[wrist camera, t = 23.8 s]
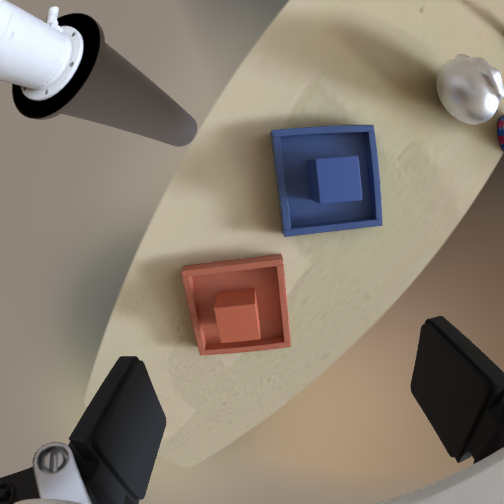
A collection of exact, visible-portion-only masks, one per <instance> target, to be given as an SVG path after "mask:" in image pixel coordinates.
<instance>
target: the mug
mask: <svg viewBox="0 0 504 504" xmlns="http://www.w3.org/2000/svg"><path fill="white" fill-rule="evenodd" d="M497 133H498V139H499V142H500V145H501V147H502V149H503V150H504V116H502V117H501V118H500V119H499V121H498V125H497Z"/></svg>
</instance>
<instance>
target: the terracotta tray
mask: <svg viewBox="0 0 504 504" xmlns="http://www.w3.org/2000/svg"><path fill="white" fill-rule="evenodd" d="M181 274H182V279H183V284H184V288H185V293H186V298H187V302H188V307H189V311H190V315H191V320H192V324H193V328H194V332H195V336H196V340H197V344H198V348H199V352H200V355H215V354H228V353H240V352H250V351H260V350H269V349H277V348H285V347H291V341H290V329H289V317H288V306H287V295H286V284H285V274H284V264H283V258H282V255H281V254H278V255H270V256H262V257H253V258H245V259H237V260H229V261H220V262H212V263H204V264H195V265H187V266H184V268H183V269H182V270H181ZM252 288H255V290H256V298H257V305H258V313H259V320H260V339H259V340H250V341H239V342H228V343H221V342H220V337H219V333H218V328H217V323H216V318H215V313H214V306H215V302H216V298H217V295H218V292H226V291H235V290H244V289H252Z"/></svg>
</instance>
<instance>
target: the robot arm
mask: <svg viewBox="0 0 504 504" xmlns="http://www.w3.org/2000/svg"><path fill="white" fill-rule="evenodd" d="M58 11H59V8H58V7H51V8H49V9H48V12H47V17H46V19H47V20H46V23H45V22H44V20H40V19H38V18H36V17H35V16H32V15H31V14H29V13H28V12H26V11H24V10H22V9H20V8H19V7H17V6H15V5H13V4H11V3H10V2H8V1H5V0H0V80H1V81H5V82H9V83H12V84H16V85H20V86H21V90H22V92H23V94H24V95H25V96H26V97H27V98H29V99H32V100H38V101H40V100H45V99H48V98H50V97H52V96H53V95H55V94H56V93H58V92H59V91H60V90H61V89H62V88H63V87H64V86H65V85H66V84H67V83H68V82H69V80H70V79H71V78H72V76H73V75H74V73H75V71H76V70H77V68H78V65H79V63H80V61H81V57H82V54H83V39H82V36H81V34H80V33H79V32H78V31H77V30H76V29H74V28H72V27H70V26H60V27H59V26H58V21H56V20H57V17H58ZM411 392H412V394H413V396H414V397H415V399H416V400H417V402H418V404H419V405H420V407H421V408H422V410H423V412H424V413H425V415H426V416H427V418H428V420H429V421H430V423H431V425H432V426H433V428H434V430H435V431H436V433H437V435H438V436H439V438H440V440H441V441H442V443H443V445H444V447H445V448H446V450H447V452H448V453H449V455H450V456H451V457H455V459H456V460H457V462H458V463H460V462H462V461H464V460H466V459H468V458H470V457H471V456H473V458H474V464H473V465H471V466H469V467H467V468H465V469H463V470H461V471H459V472H457V473H455V474H453V475H451V476H448V477H446V478H444V479H442V480H440V481H437V482H435V483H433V484H430V485H428V486H425V487H423V488H420V489H418V490H415V491H412V492H410V493H407V494H405V495H401V496H398V497H395V498H392V499H389V500H386V501H383V502H379V503H376V504H504V373H503V371H502V370H501V369H500V368H499V367H498V366H496V365H495V364H494V363H493V362H492V361H491V360H490V359H489V358H488V357H487V356H486V355H485V354H484V353H483V352H482V351H481V350H480V349H479V348H478V347H476V346H475V345H474V344H473V343H472V342H471V341H470V340H469V339H468V338H467V337H465V336H464V335H463V334H462V333H461V332H460V331H459V330H458V329H457V328H455V327H454V326H453V325H452V324H451V323H450V322H449V321H447V320H446V319H445V318H444V317H442V316H438V317H434V318H431V319H427V320H426V322H425V324H423V325H422V327H421V332H420V338H419V344H418V350H417V356H416V361H415V366H414V371H413V376H412V381H411ZM165 427H166V417H165V414H164V412H163V410H162V407H161V405H160V403H159V400H158V398H157V395H156V393H155V390H154V388H153V385H152V383H151V380H150V378H149V375H148V372H147V370H146V367H145V364H144V362H143V361H139V359H138V358H137V357H136V356H121V357H120V358H119V359H118V360H117V362H116V363H115V365H114V366H113V368H112V369H111V371H110V372H109V374H108V376H107V377H106V379H105V380H104V382H103V383H102V385H101V387H100V388H99V390H98V391H97V393H96V394H95V396H94V398H93V399H92V401H91V403H90V404H89V406H88V407H87V409H86V411H85V412H84V414H83V416H82V417H81V419H80V421H79V422H78V424H77V426H76V427H75V429H74V431H73V432H72V434H71V436H70V437H69V440H70V443H69V445H68V446H67V445H66V444H64V443H61V442H51V443H47V444H45V445H43V446H42V447H41V448H39V449H38V450H37V452H36V453H35V455H34V458H33V467H31V468H29V469H26V470H23V471H20V472H17V473H14V474H11V475H8V476H5V477H2V478H0V504H138V503H139V500H140V499H143V498H144V496H145V494H146V490H147V487H148V483H149V480H150V476H151V473H152V470H153V466H154V463H155V459H156V456H157V453H158V449H159V446H160V443H161V440H162V436H163V433H164V430H165Z"/></svg>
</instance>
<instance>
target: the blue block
mask: <svg viewBox="0 0 504 504" xmlns="http://www.w3.org/2000/svg"><path fill="white" fill-rule="evenodd" d="M307 164H308V172H309V181H310V191H311V200H313V201H315V202H317V203H319V204H328V203H338V202H349V201H360V200H362V191H361V179H360V169H359V159H358V156H349V157H332V158H318V159H312V160H308V161H307Z"/></svg>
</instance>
